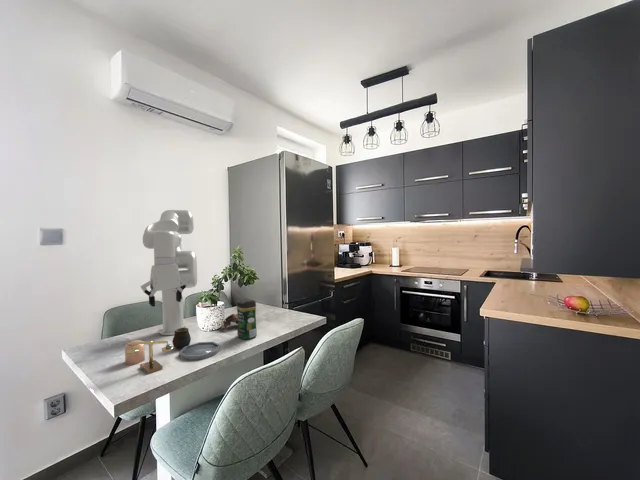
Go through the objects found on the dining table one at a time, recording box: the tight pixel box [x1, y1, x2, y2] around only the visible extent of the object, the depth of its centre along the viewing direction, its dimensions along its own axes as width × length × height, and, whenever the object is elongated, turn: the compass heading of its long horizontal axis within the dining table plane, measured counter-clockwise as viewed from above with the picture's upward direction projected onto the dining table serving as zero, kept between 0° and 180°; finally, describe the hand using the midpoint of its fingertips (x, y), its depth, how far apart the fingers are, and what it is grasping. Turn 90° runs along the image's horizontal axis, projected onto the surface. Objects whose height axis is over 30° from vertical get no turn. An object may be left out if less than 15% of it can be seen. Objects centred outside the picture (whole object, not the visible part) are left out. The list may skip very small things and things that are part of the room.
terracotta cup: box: [124, 339, 146, 366], centre depth 110 cm, size 6×6×8 cm
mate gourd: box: [172, 327, 191, 350], centre depth 123 cm, size 7×8×10 cm
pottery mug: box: [222, 313, 238, 329], centre depth 151 cm, size 12×10×8 cm
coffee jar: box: [236, 297, 258, 340], centre depth 135 cm, size 10×8×19 cm
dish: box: [178, 341, 221, 361], centre depth 117 cm, size 15×15×2 cm
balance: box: [126, 340, 174, 375], centre depth 103 cm, size 8×16×11 cm, turn 138°
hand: (166, 303), depth 113 cm, fingers open, 9 cm apart
